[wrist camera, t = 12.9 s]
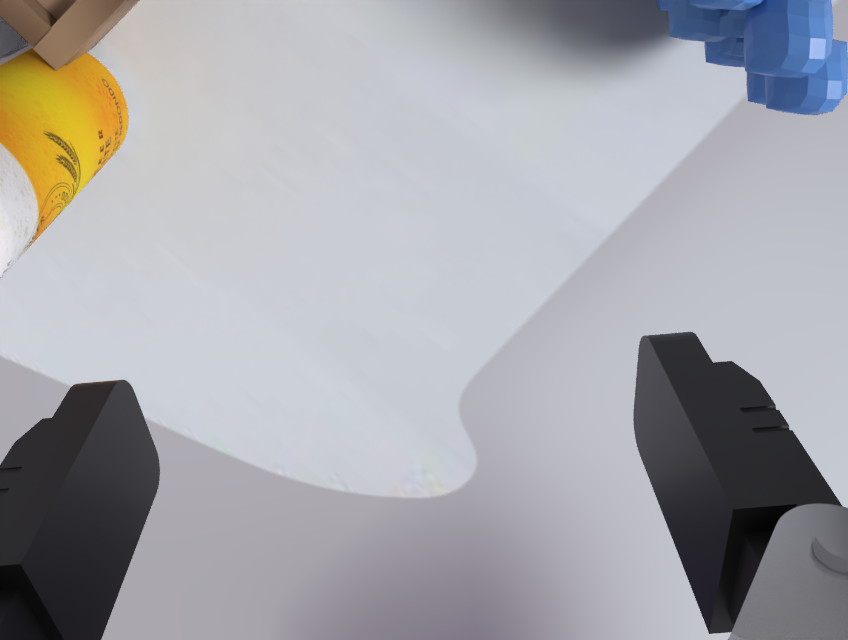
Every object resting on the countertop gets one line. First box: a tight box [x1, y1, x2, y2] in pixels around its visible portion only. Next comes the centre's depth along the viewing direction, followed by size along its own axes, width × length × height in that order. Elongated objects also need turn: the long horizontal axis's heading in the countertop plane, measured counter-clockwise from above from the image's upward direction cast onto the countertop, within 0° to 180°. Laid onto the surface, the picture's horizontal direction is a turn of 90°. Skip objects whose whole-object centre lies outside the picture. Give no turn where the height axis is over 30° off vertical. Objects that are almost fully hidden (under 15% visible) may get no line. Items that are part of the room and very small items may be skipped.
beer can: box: [0, 43, 128, 278], centre depth 30 cm, size 6×6×15 cm
